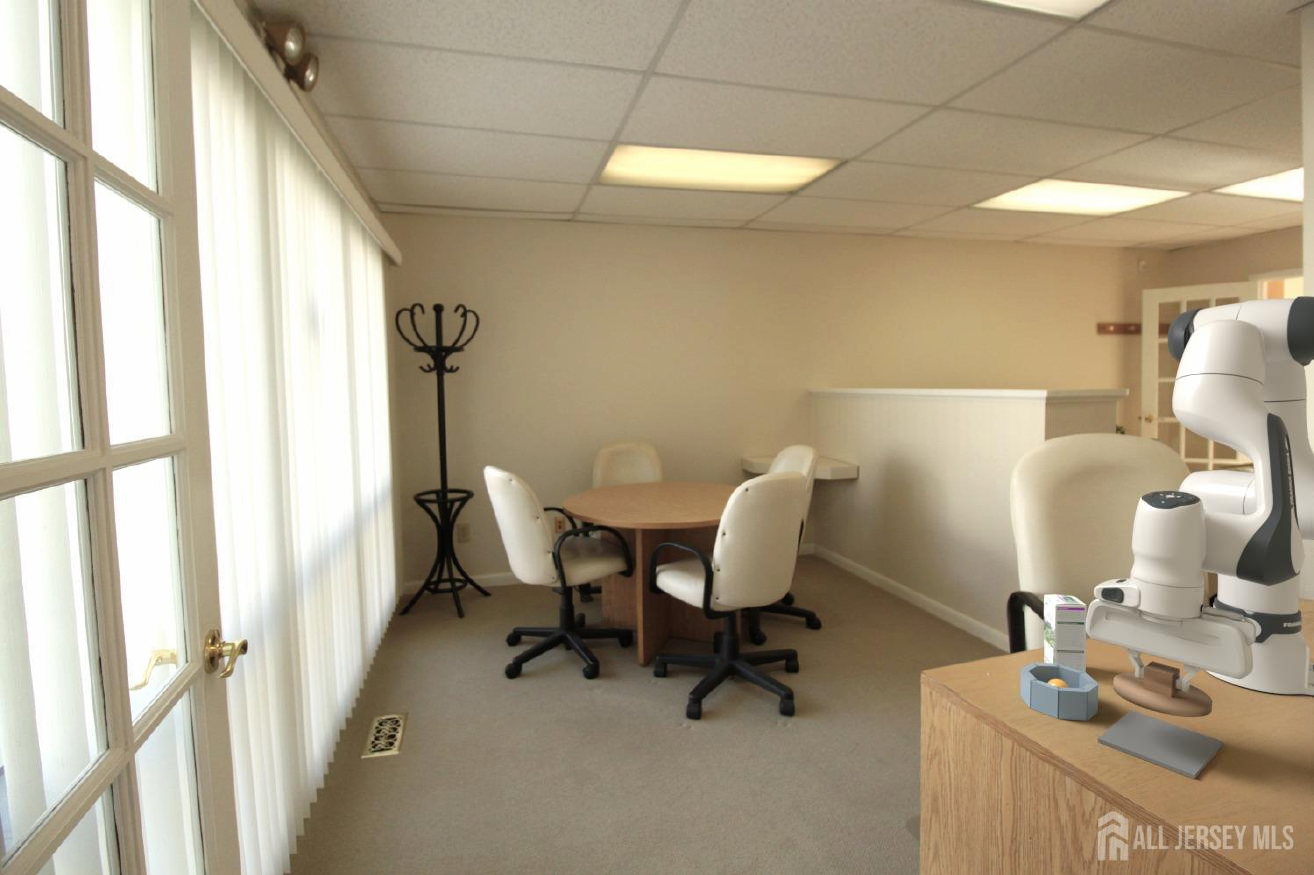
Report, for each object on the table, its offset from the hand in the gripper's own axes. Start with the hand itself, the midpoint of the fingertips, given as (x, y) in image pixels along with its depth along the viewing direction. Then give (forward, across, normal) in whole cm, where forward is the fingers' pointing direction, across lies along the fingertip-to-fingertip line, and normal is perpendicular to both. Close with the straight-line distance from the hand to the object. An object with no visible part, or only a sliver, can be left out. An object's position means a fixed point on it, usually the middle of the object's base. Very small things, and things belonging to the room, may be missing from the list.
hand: (1161, 684), depth 98 cm
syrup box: (+10, +20, -16) cm, 28 cm away
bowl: (+10, +15, -1) cm, 18 cm away
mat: (+10, 0, 0) cm, 10 cm away
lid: (+2, 0, 0) cm, 2 cm away
